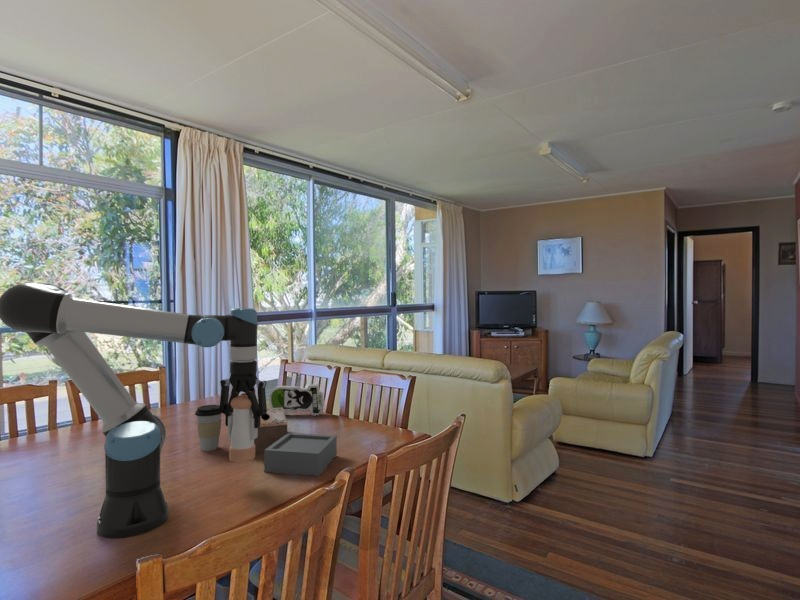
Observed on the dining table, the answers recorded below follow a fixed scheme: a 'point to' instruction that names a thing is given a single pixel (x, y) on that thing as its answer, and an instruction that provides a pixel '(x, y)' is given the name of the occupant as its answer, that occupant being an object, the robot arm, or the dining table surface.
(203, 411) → the coffee cup
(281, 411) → the tissue box cover
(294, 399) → the cutout
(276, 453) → the tray
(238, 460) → the salt shaker
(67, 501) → the dining table surface
